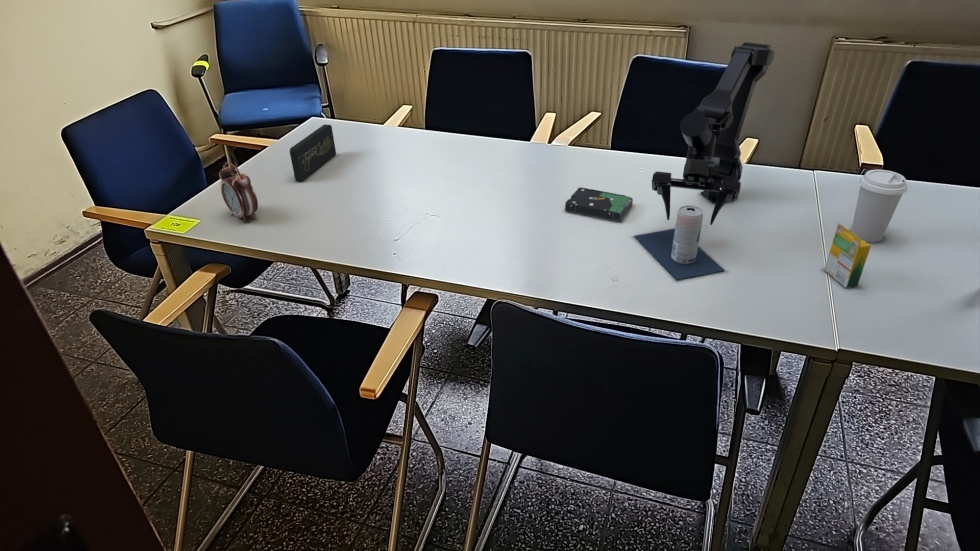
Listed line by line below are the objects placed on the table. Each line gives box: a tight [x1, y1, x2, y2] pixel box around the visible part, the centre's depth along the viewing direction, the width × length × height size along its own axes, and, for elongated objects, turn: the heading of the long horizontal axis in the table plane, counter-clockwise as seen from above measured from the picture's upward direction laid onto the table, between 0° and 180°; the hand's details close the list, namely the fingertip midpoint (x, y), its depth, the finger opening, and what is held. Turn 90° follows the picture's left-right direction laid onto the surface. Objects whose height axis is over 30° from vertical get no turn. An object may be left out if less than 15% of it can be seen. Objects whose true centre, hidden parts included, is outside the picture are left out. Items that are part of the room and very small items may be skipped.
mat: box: [633, 228, 726, 281], centre depth 149 cm, size 12×20×1 cm, turn 16°
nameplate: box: [289, 124, 337, 182], centre depth 193 cm, size 21×2×10 cm, turn 163°
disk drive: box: [564, 186, 634, 222], centre depth 168 cm, size 10×3×15 cm
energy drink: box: [671, 205, 704, 264], centre depth 143 cm, size 5×5×12 cm
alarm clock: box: [218, 161, 259, 223], centre depth 167 cm, size 11×5×15 cm, turn 47°
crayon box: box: [823, 222, 872, 289], centre depth 136 cm, size 7×3×12 cm, turn 12°
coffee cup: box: [850, 169, 908, 244], centre depth 149 cm, size 10×10×15 cm
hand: (689, 221), depth 145 cm, fingers open, 9 cm apart
